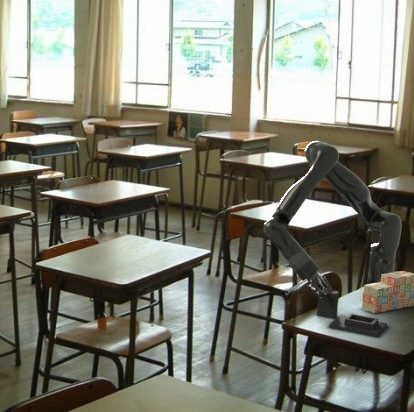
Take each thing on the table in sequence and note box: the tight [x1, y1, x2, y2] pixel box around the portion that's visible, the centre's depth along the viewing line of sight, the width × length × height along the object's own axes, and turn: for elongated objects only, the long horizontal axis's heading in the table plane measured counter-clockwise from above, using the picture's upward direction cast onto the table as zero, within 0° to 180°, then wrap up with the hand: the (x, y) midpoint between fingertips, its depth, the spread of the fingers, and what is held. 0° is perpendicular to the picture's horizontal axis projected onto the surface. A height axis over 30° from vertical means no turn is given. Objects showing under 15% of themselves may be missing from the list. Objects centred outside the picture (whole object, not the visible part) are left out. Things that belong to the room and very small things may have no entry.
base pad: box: [328, 313, 388, 338], centre depth 299 cm, size 14×16×3 cm
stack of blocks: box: [361, 270, 414, 314], centre depth 321 cm, size 21×6×12 cm, turn 121°
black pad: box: [316, 289, 340, 320], centre depth 310 cm, size 4×6×9 cm, turn 57°
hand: (333, 303), depth 309 cm, fingers closed on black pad, 4 cm apart
